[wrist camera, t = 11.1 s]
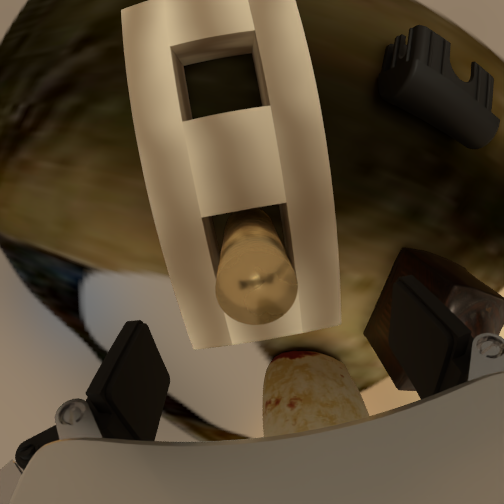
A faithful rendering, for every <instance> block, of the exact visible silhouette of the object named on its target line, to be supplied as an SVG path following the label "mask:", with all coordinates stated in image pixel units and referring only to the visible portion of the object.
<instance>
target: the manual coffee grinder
mask: <svg viewBox="0 0 504 504" xmlns="http://www.w3.org/2000/svg"><path fill="white" fill-rule="evenodd" d="M407 275H413V276H414V277H415V278H416V279H417V280H418V281H420V282H421V283H422V284H423V285H424V286H425V287H426V288H427V289H428V290H429V291H430V292H432V293H433V294H434V295H435V296H436V297H437V298H438V299H439V300H440V301H441V302H442V303H443V304H444V305H445V306H446V307H448V308H449V309H450V310H451V311H452V312H453V313H454V314H455V315H456V316H457V317H458V318H459V319H460V320H461V321H462V322H463V323H464V324H465V325H466V326H467V327H468V328H469V329H470V330H471V331H472V333H471V336H472V337H473V338H474V339H475V338H476V336H478V335H480V334H484V333H493V334H497V335H499V333H500V331H501V329H502V327H503V325H504V297H502V296H501V295H500V294H498V293H497V292H495V291H494V290H493V289H491V288H490V287H488V286H487V285H485V284H484V283H483V282H481V281H480V280H478V279H477V278H475V277H474V276H473V275H472V274H470V273H469V272H468V271H467V270H466V269H465V268H464V267H462V266H460V265H458V264H456V263H454V262H452V261H450V260H448V259H445V258H442V257H440V256H437V255H434V254H431V253H429V252H426V251H422V250H416V249H409V248H402V250H401V252H400V253H399V255H398V257H397V259H396V260H395V263H394V265H393V267H392V270H391V272H390V274H389V276H388V279H387V281H386V283H385V286H384V288H383V290H382V292H381V295H380V297H379V299H378V301H377V304H376V306H375V308H374V311H373V313H372V315H371V318H370V320H369V322H368V324H367V327H366V329H365V331H364V336H365V337H366V338H367V339H368V341H369V343H370V344H371V346H372V347H373V349H374V351H375V352H376V354H377V356H378V358H379V359H380V361H381V363H382V364H383V366H384V367H385V369H386V371H387V372H388V374H389V376H390V377H391V379H392V381H393V383H394V384H395V386H396V388H397V389H398V390H407V391H416V389H415V388H414V386H413V384H412V383H411V381H410V379H409V378H408V376H407V374H406V373H405V371H404V369H403V368H402V366H401V364H400V363H399V361H398V359H397V358H396V356H395V355H394V353H393V351H392V350H391V348H390V346H389V342H388V337H389V328H390V317H391V305H392V289H393V283H394V282H396V280H397V278H399V277H403V276H407Z"/></svg>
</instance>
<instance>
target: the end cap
mask: <svg viewBox="0 0 504 504" xmlns="http://www.w3.org/2000/svg"><path fill="white" fill-rule="evenodd" d="M405 39H406V36H404V35H402V34H401V35H400V36H397V37H396V38H395V42H394V44H390V45H388V46H387V47H386V50H385V56H384V61H383V66H382V71H381V73H380V74H379V79H378V90H379V94H380V96H381V97H382V99H384V100H385V101H387V102H389V103H391V104H393V105H395V106H397V107H399V108H401V109H403V110H405V111H407V112H409V113H411V114H412V115H414V116H416V117H418V118H420V119H422V120H423V121H425V122H427V123H429V124H430V125H432V126H434V127H435V128H437V129H439V130H440V131H442V132H444V133H445V134H447V135H449V136H450V137H452V138H453V139H455V140H456V141H458V142H459V143H461V144H462V145H464V146H466V147H467V148H470V149H479V148H482V147H484V146H485V145H487V144H488V143H489V142H490V141H491V140H492V139H493V137H494V136H495V134H496V132H497V130H498V127H499V123H500V119H498V118H497V117H496V116H495V115H494V114H493V113H492V112H491V109H492V98H493V84H494V78H493V77H492V76H491V75H490V74H489V73H488V72H486V71H485V70H484V69H483V68H482V67H481V66H479V65H478V64H477V63H476V62H472V64H471V77H470V80H469V81H468V82H463V81H462V80H460V79H459V78H458V77H457V76H456V74H455V73H454V71H453V69H452V67H451V64H450V44H451V43H450V42H448V41H447V40H445V39H444V38H442V37H441V36H439V35H438V34H436V33H435V32H433V31H432V30H430V29H429V28H427V27H425V26H422V25H417V26H415V27H413V28H410V29H409V36H408V43H407V45H406V44H405Z"/></svg>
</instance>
